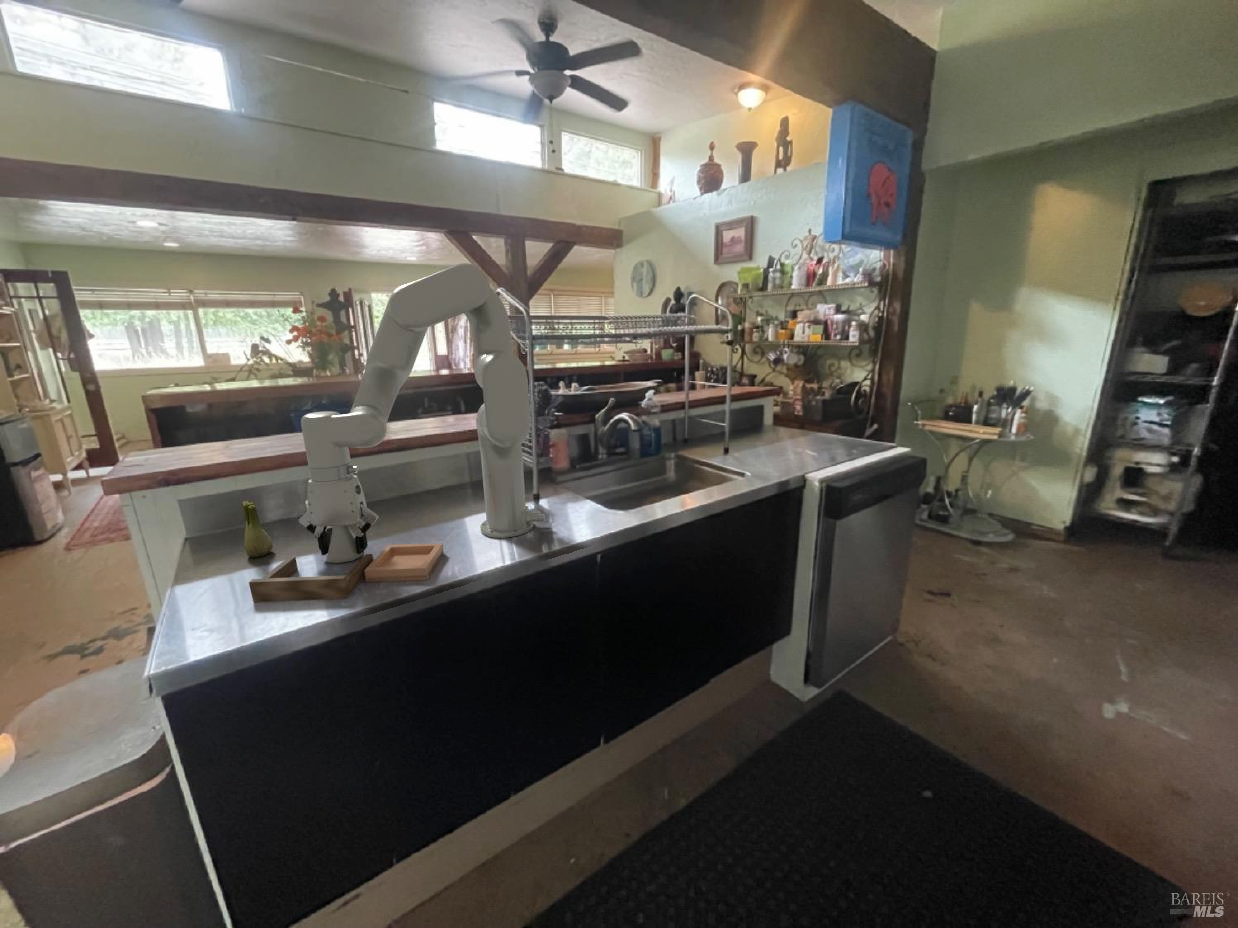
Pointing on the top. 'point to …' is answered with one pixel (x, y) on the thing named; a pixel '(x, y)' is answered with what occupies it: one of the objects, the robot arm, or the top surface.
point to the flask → (342, 545)
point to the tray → (404, 562)
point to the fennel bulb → (255, 533)
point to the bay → (306, 583)
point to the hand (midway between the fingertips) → (344, 551)
